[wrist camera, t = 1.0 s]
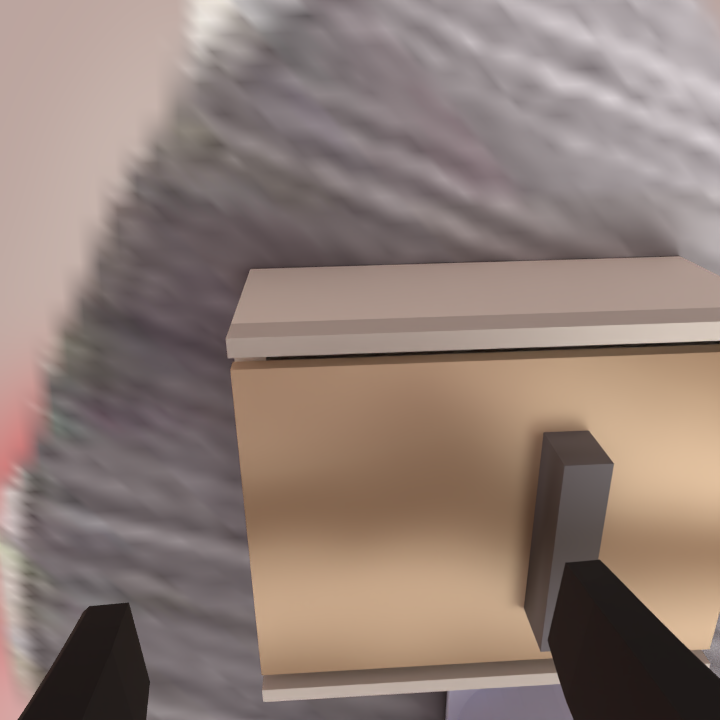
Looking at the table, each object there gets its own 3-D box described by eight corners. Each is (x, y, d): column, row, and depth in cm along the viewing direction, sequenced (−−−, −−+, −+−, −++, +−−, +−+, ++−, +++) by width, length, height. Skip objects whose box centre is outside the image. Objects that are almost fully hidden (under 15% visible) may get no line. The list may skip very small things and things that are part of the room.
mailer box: (625, 549, 26) (707, 675, 21) (275, 567, 26) (263, 701, 20) (680, 256, 21) (804, 318, 16) (250, 269, 21) (225, 338, 15)
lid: (700, 636, 21) (739, 693, 19) (262, 661, 20) (257, 722, 18) (777, 342, 17) (836, 376, 15) (232, 362, 16) (221, 400, 14)
